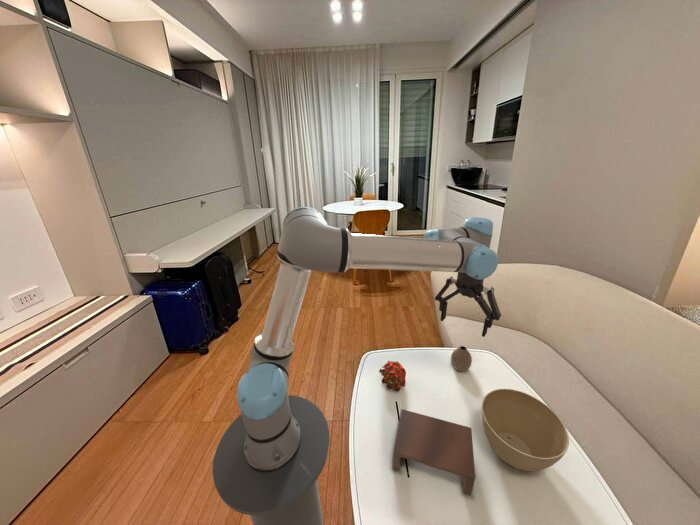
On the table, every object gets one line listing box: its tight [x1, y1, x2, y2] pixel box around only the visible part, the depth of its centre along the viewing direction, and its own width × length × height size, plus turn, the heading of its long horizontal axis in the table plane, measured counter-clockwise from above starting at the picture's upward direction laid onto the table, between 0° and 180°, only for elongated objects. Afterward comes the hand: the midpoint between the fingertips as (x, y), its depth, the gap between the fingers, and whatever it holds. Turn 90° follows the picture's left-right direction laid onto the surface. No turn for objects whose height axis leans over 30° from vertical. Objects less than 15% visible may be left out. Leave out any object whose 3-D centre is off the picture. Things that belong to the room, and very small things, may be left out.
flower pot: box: [481, 388, 570, 472], centre depth 67 cm, size 18×18×12 cm
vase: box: [450, 345, 473, 372], centre depth 95 cm, size 7×7×9 cm
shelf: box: [392, 408, 476, 497], centre depth 67 cm, size 18×12×7 cm, turn 71°
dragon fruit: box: [378, 360, 407, 392], centre depth 90 cm, size 8×8×12 cm
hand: (462, 326), depth 89 cm, fingers open, 13 cm apart
